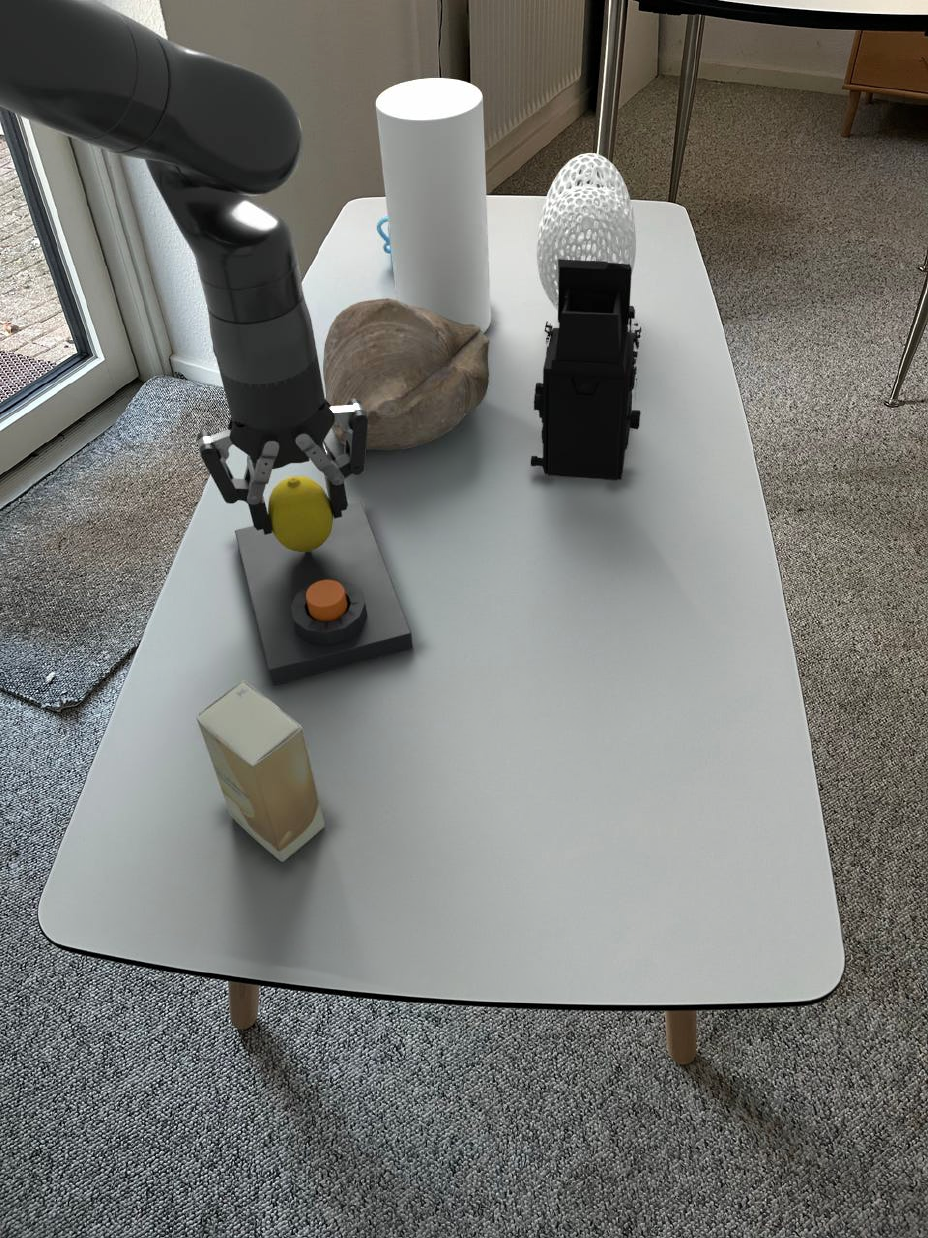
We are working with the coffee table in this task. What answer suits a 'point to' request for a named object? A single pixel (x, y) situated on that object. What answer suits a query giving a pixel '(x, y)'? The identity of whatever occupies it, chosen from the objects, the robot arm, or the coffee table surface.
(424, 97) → the tall pillar cylinder
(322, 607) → the button
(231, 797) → the cosmetic box
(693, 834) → the coffee table surface
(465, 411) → the seashell
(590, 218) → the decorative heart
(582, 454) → the camera
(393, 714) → the coffee table surface
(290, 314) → the robot arm
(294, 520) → the lemon
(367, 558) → the dark grey base plate
